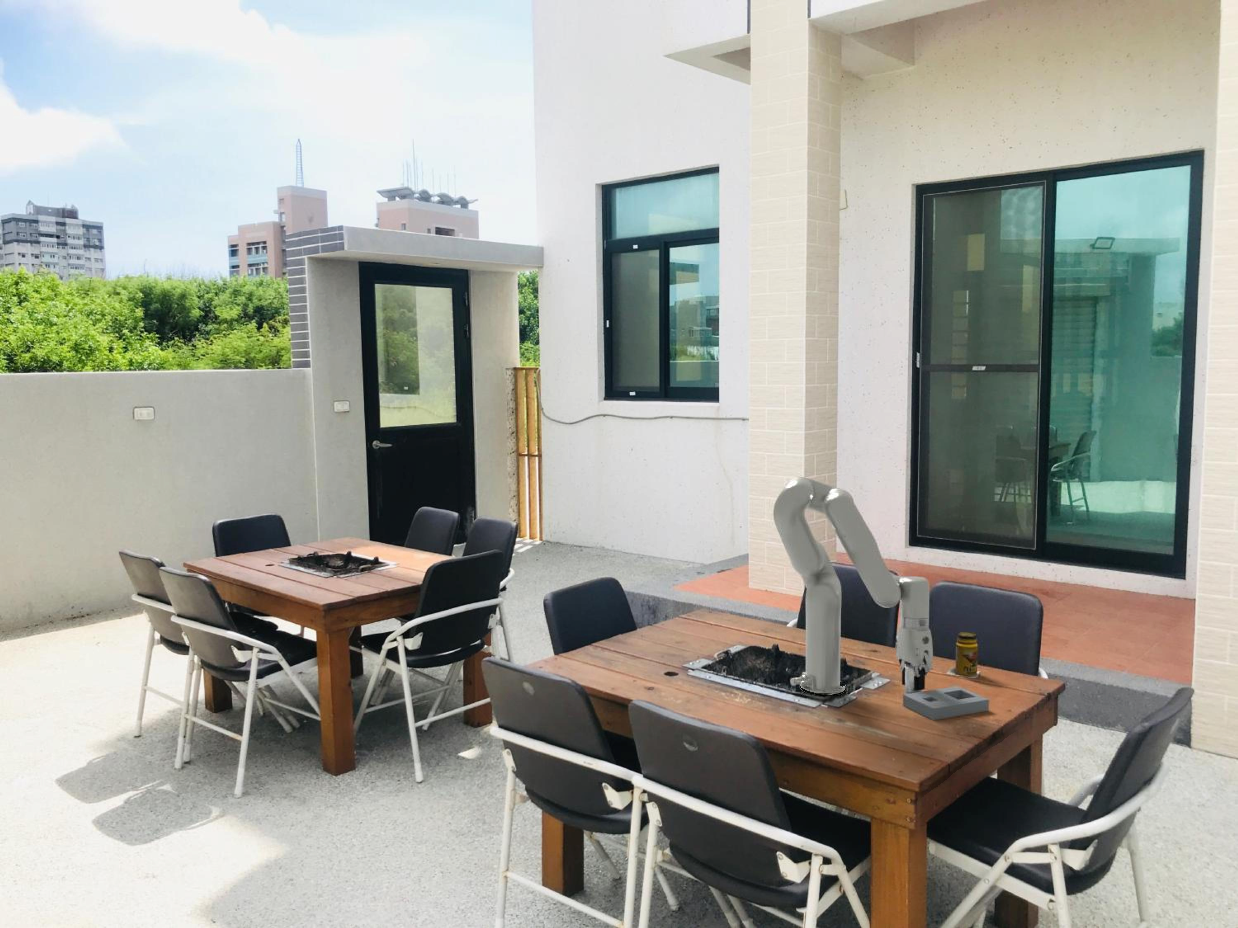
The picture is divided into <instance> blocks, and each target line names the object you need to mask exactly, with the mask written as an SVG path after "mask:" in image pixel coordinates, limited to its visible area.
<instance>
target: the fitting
mask: <svg viewBox="0 0 1238 928" xmlns="http://www.w3.org/2000/svg"><path fill="white" fill-rule="evenodd" d="M921 669H922V667H919V670H921ZM914 676H916V673H915V665H913V664H907V665H905V685H904V694H910V693H916V692H922V691H923V690H918V691H915V690H914Z"/></svg>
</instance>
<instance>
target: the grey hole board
mask: <svg viewBox="0 0 1238 928" xmlns="http://www.w3.org/2000/svg"><path fill="white" fill-rule="evenodd" d="M902 699H903V700H902V706H903V707H906V708H907V709H909V710H911V711H913V712H916V713H918V714H920V715H921V716H923V717H926V718H927V719H931V720H932V721H935V720H941V719H947V718H955V717H959V716H965V715H970V714H978V713H982V712H987V711H988V712H989V711H990V707H989V706H990V699H989V698H986V697H984V696H982V695H979V694H977V693H975V692H972V691H970V690H968V689H965V688H963V687H961V686H958V685H955V686H950V687H949V686H948V687H943V688H936V689H930V690H922V691H921V692H916V693H910V694H905V693H904V694H903V695H902Z"/></svg>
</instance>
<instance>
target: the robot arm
mask: <svg viewBox="0 0 1238 928" xmlns="http://www.w3.org/2000/svg"><path fill="white" fill-rule="evenodd" d="M773 505H774V506H773V510H772V511H773V512H772V513H773V521H774V525H775V528H776V529H777V532H778V534H779V536H780V539H781V542H782V544H783V547H784V549H785V551H786V553H787V556H788V558H789V560H790V563H791V565H792V567H793V569H794V571H795V572H796V573H797V574H799V575H800V576H801V579H802V581H803V584H804V585H805V587H806V591H805V671H803V672H801V675H800V676H799V677H791V678H790V681H789V682H790V685H791V686H795V685H799V687H800V686H801V688H803V689H805V690H807V691H810V692H814V693H836V692H837V693H840V692H843V691H844V690H845V686H846V685H845V686H843V687H842V686H840V682H841V640H842V639H841V634H842V633H841V628H842V627H841V626H842V625H841V622H842V620H841V617H842V615H841V614H842V609H841V608H842V584H841V581H840V578H839V577H838V575H837V573H836V570H835V568H834V566H833V564H832V562H831V560H830V558H829V555H828V552H827V551H826V549H825V547H824V545H823V544H822V543H821V542H820V541H819V540H817V539H815V536H814V535H813V532H812V530H811V527H810V525H809V523H808V521H807V519H806V516H805V513H806V509H808V510H811V511H812V512H813V511H814V512H817V513H820V514H822V515H824V516H825V518H826V519H827V521H828V522H829V524H830V527H831V528H832V529H833V530H834V533H835V534H836V537H838V539H839V541H840V543H841V545H842V547H843V548H844V550H845V552H846V553H847V556H848V558H849V560H850V561H851V563H852V565H853V567H855V570H856V571H857V573H858V575H859V577H860V578H861V580H862V582H863V584H864V585H865V587H866V589H867V591H868V592H869V594H870V596H871V598H872V599H873V601H874V602H875V603H876V604H877V605H878V606H880V607H882V608H888V609H890V608H893V607H895V606H896V605H897V604H899V602H900V605H899V606H900V616H899V617H900V618H899V627H898V633H897V640H896V641H897V644H896V652H895V657H896V659H897V660H898V663H899V664H900V670H901V685H903V686H905V665H907V664H913V665H915V673H916V676H914V690H915V691H918V690H922V691H925V689H926V676H927V674H928V673H929V672H930V671H932V670H933V665H932V664H933V662H934V659H933V658H934V653H933V652H934V650H933V647H934V646H933V638H932V631H931V629H930V627H929V626H930V581H929V580H928V579H927V578H926V577H922V576H914V575H913V576H911V575H910V576H909V575H908V576H901V575H896V574H892V573H891V571H890V570H889V569H888V566H887V565H886V562H885V560H884V559H883V557H882V556H883V555H882V553H881V552H880V549H879V547H878V546H879V545H878V543H877V540H876V539H875V536H874V534H873V533H872V531H871V529H870V528H869V526H868V524H867V523H866V521H865V519H864V518H863V516H862V514H861V512H860V510H859V509H858V507H857V505H856V504H855V501H854V498H853V495H851V493H850V492H849V491H847V490H845V489H842V488H839V487H836V486H833V485H829V484H827V483H823V482H820V481H818V480H814V479H811V478H809V477H805V476H797V477H794V478H792V479H790V480H789V481H788V482H787V483H786V485H785V486H784V488H783V489H782V490H781V492H780V493H779V494H778V497H777V498H776V500H775V502H774V504H773ZM919 667H922V669H921V670H919ZM801 688H800V689H801ZM839 688H841V689H839ZM845 691H846V690H845ZM843 693H844V692H843Z"/></svg>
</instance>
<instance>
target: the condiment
mask: <svg viewBox="0 0 1238 928" xmlns="http://www.w3.org/2000/svg"><path fill="white" fill-rule="evenodd" d="M956 640H957V641H956V643H955V667H954V666H950V668H949V670H948V671H947V672H946V673H945V674H946V675H950V676H958V677H962V678H970V679H977V678H978V677H979V674H980V673H981V671H980V670H978V655H979V654H978V652H979V651H978V649H979V645H978V643H977V640H978V639H977V634H975V633H973V632H968V631H965V632H964V631H962V632H959V633H958V634H957V639H956ZM955 674H957V675H955Z"/></svg>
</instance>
